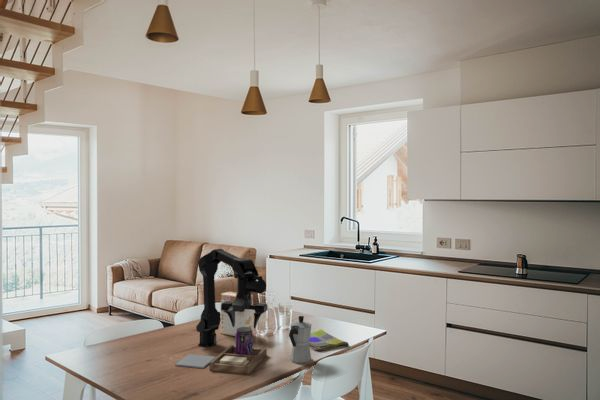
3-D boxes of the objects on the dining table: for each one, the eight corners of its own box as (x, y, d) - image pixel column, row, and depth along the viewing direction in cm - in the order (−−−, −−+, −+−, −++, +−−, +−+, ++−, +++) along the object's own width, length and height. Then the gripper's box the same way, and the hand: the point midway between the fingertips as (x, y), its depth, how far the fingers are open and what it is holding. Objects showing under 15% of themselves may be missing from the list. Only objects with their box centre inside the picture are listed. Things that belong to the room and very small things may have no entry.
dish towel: (323, 333, 234) (323, 328, 234) (350, 347, 212) (350, 341, 212) (291, 338, 226) (291, 332, 225) (316, 353, 204) (316, 347, 204)
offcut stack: (218, 369, 184) (218, 360, 184) (224, 364, 190) (224, 355, 190) (245, 372, 181) (245, 362, 181) (250, 366, 187) (250, 357, 187)
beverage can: (245, 362, 191) (245, 332, 191) (231, 358, 195) (231, 329, 195) (255, 357, 197) (256, 328, 197) (242, 354, 201) (242, 325, 201)
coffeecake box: (253, 335, 228) (253, 294, 228) (243, 338, 222) (244, 297, 222) (229, 330, 236) (229, 291, 236) (219, 333, 230) (220, 293, 230)
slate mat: (175, 365, 186) (175, 364, 186) (189, 355, 198) (189, 354, 198) (203, 368, 184) (203, 366, 184) (215, 358, 195) (215, 356, 195)
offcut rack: (209, 370, 182) (209, 362, 182) (230, 351, 203) (230, 344, 203) (248, 374, 178) (249, 366, 178) (266, 355, 200) (266, 348, 200)
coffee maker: (299, 353, 202) (299, 311, 202) (317, 357, 197) (318, 314, 197) (280, 364, 189) (280, 319, 189) (299, 368, 185) (299, 322, 184)
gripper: (215, 292, 190) (215, 331, 190) (259, 295, 186) (259, 334, 186) (226, 287, 201) (225, 324, 201) (268, 289, 197) (267, 327, 197)
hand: (244, 327), depth 196 cm, fingers open, 9 cm apart
